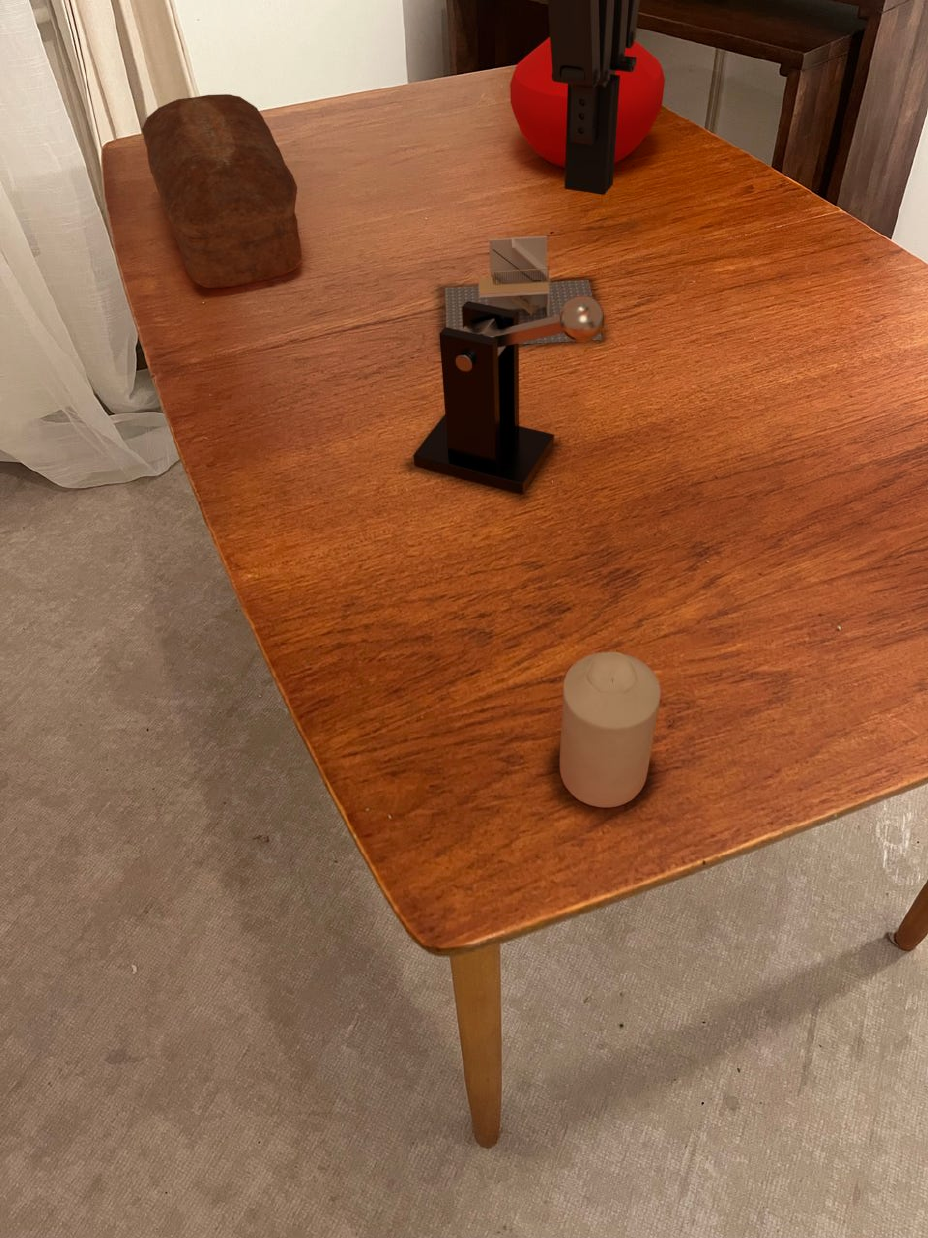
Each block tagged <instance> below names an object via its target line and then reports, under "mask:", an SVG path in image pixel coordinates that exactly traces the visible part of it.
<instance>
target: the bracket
mask: <svg viewBox="0 0 928 1238" xmlns="http://www.w3.org/2000/svg"><path fill="white" fill-rule="evenodd" d="M462 317H463V328H464V327H465V326H466V325H470V324H474V323H478V322H482V321H486V320H490V319H495V321H496V323H497V326H498V328H499V329H503V328H507V327H511V326H515V325H519V312H518V311H514V310H510V309H505V308H500V307H495V306H490V305H485V304H480V303H475V302H471V301H467V302H466V303H465V304H464V305H463V306H462ZM438 337H439V349H440V350H439V351H440V363H441V376H442V377H441V378H442V390H443V392H442V393H443V404H444V414H443V416H442V417H441V418H440V420H439V421H438V422H437V423H436V424H435V426H434V427H433V429H432V430H431V431H430V433H429V434H428V435H427V436H426V438H425V439H424V440H423V442H422V443H421V444H420V445H419V447H418V448H417V449H416V451H415V452H413V454H412V455H413V456H412V457H413V465H414V467H418V468H422V469H426V470H429V471H433V472H437V473H440V474H445V475H448V476H453V477H455V478H458V479H463V480H467V481H470V482H473V483H478V484H480V485H484V486H488V487H493V488H496V489H500V490H503V491H507V492H511V493H515V494H517V495H523V494H524V493H525V491H526V490H527V488H528V487H529V485H531V482H532V481H533V479H534V477H535V476H536V474H537V472H538V471H539V469H540V468H541V466H542V465H543V463H544V462H545V460H546V458H547V457H548V455H549V453H551V451H552V449H553V447H554V446H555V434H553V433H550V432H547V431H541V430H537V429H533V428H530V427H525V426H523V425H522V426H521V425H520V344H519V343H517V344H513V345H508V346H506V347H505V348H504V350H503V351H502V352H501V354H500V355H499V356H498V339H497V338H493V337H489V336H484V335H480V334H475V333H470V332H466V331H461V330H456V329H452V328H447V327H446V326H444V327H443V328H442V329H441V330H440V332H439V333H438Z"/></svg>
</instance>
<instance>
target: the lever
mask: <svg viewBox="0 0 928 1238" xmlns="http://www.w3.org/2000/svg"><path fill="white" fill-rule="evenodd" d="M604 324H605V312H604V309H603V307H602V305H601V304H600V303H599V302H598V300H596V299H595V298H593V297H592V298H591V297H589V296H577V297H574V298H572V299H570V300H569V301H568V302H567V303H566V304H565V305H564V306H563V308H562V310H561V313H560V315H557V316H553V317H549V318H544V319H540V320H536V321H532V322H528V323H524V324H519V325H515V326H511V327H507V328H503V329H499V328H498V326H497V323H496V321H495V319H490V320H486V321H482V322H478V323H474V324H470V325H466V326H465V327H464V328H463V329H462V330H461V331H466V332H470V333H475V334H480V335H484V336H489V337H493V338H497V339H498V356H499V355H500V354H501V352H502V351H503V350H504V348H505V347H506V346H508V345H513V344H517V343H521V342H526V341H530V340H535V339H539V338H543V337H548V336H552V335H557V334H561V333H564V334H565V335H566V336H567V337H568V338H569V339H571V340H573V341H572V342H576V343H587V342H589V341H593V340H592V339H594V338H595V337H596V336H597V335H598V334H599V333H600V334H601V332H602V330H603V328H604Z"/></svg>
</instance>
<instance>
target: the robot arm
mask: <svg viewBox="0 0 928 1238" xmlns="http://www.w3.org/2000/svg"><path fill="white" fill-rule="evenodd" d="M640 3H641V0H547V12H548V27H549V28H548V29H549V37H550V44H551V59H552V80H553V81H554V82H558V83H565V84H568V92H567V124H566V157H565V168H564V190H570V191H576V192H582V193H588V194H594V195H595V194H596V195H601V196H605V195H606V194H607V193H608V191H609V190H610V189H611V188H612V186H613V185H614V173H615V164H614V160H615V146H616V131H617V116H618V101H619V86H620V75H616V71H624V72H633V71H634V69H635V66H636V61H637V57H630V56H625V48H629V49H631V48H632V46H633V45H634V41H636V37H637V24H638V17H639V9H640Z"/></svg>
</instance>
